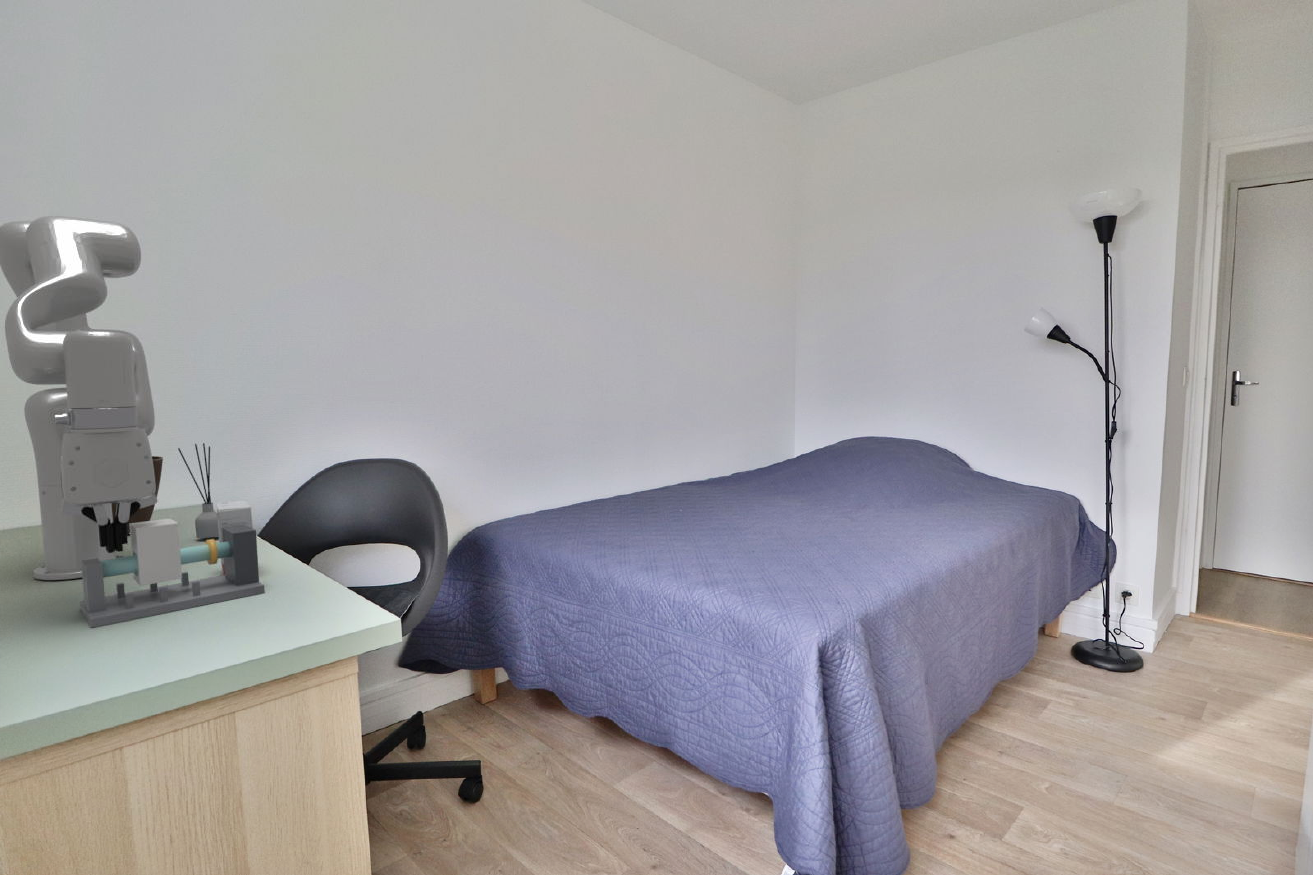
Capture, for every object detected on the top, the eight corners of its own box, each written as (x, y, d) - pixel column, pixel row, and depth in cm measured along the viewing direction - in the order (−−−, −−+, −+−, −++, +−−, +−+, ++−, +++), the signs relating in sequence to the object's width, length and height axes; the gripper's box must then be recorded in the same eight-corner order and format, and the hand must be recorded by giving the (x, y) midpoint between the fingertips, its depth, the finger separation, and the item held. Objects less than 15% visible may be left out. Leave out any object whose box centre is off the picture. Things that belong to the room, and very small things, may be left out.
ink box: (257, 576, 118) (253, 506, 117) (222, 581, 116) (217, 510, 115) (253, 565, 126) (249, 499, 125) (220, 570, 123) (215, 502, 122)
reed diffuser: (231, 540, 146) (224, 442, 144) (192, 546, 141) (185, 445, 139) (214, 533, 153) (207, 440, 151) (176, 539, 147) (169, 443, 146)
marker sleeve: (140, 585, 101) (136, 528, 100) (133, 578, 104) (129, 523, 104) (182, 578, 104) (178, 523, 103) (173, 571, 108) (170, 518, 107)
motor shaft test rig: (91, 627, 95) (86, 558, 94) (80, 609, 102) (75, 545, 102) (264, 592, 109) (261, 532, 109) (243, 578, 117) (239, 522, 116)
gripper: (34, 425, 91) (47, 565, 92) (173, 419, 101) (182, 545, 103) (30, 422, 96) (42, 555, 98) (163, 417, 107) (171, 537, 108)
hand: (114, 550), depth 100 cm, fingers closed
